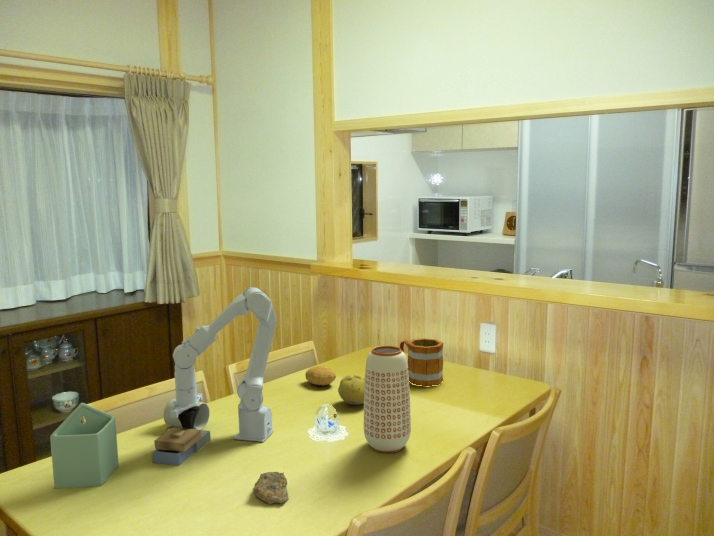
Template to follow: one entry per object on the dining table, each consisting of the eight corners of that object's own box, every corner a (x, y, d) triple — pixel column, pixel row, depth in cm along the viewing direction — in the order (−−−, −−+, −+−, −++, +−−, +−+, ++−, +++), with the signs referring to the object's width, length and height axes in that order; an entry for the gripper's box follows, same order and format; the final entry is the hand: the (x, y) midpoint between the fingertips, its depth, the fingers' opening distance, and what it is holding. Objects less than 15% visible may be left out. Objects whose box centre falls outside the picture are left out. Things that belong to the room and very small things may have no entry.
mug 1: (160, 424, 177) (190, 429, 173) (167, 395, 180) (197, 400, 176) (182, 429, 188) (211, 433, 184) (189, 402, 190) (218, 406, 187)
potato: (323, 378, 227) (322, 360, 226) (341, 386, 216) (340, 368, 215) (302, 383, 221) (301, 365, 220) (320, 392, 211) (319, 373, 210)
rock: (252, 488, 144) (250, 501, 134) (257, 464, 144) (256, 475, 134) (286, 494, 145) (287, 508, 135) (292, 470, 145) (293, 482, 136)
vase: (415, 439, 170) (415, 345, 166) (404, 459, 157) (403, 358, 153) (372, 434, 174) (370, 341, 170) (357, 453, 161) (355, 354, 158)
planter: (67, 498, 140) (60, 419, 137) (54, 488, 145) (47, 411, 142) (132, 473, 152) (127, 400, 149) (117, 464, 157) (112, 393, 154)
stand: (210, 440, 171) (210, 430, 171) (197, 452, 163) (196, 442, 163) (181, 437, 173) (180, 428, 173) (166, 449, 165) (166, 439, 165)
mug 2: (450, 381, 220) (451, 342, 218) (427, 390, 211) (427, 349, 209) (412, 370, 235) (412, 333, 233) (388, 377, 226) (388, 340, 224)
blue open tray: (194, 452, 163) (194, 442, 163) (179, 465, 156) (178, 454, 155) (169, 449, 165) (168, 439, 165) (152, 462, 158) (152, 452, 157)
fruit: (332, 408, 195) (331, 379, 194) (346, 396, 206) (345, 369, 205) (363, 412, 191) (363, 383, 190) (376, 400, 202) (375, 372, 200)
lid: (201, 437, 166) (200, 427, 165) (184, 451, 157) (183, 440, 157) (172, 435, 168) (172, 424, 167) (154, 448, 159) (154, 437, 159)
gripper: (186, 378, 174) (188, 421, 176) (158, 394, 160) (161, 441, 162) (208, 379, 172) (210, 423, 174) (182, 396, 158) (184, 444, 160)
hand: (188, 432), depth 168 cm, fingers closed
